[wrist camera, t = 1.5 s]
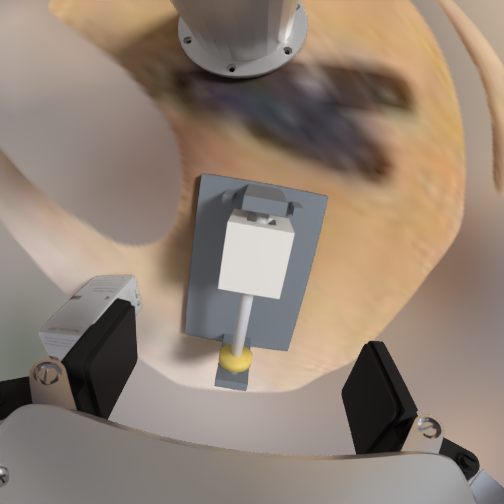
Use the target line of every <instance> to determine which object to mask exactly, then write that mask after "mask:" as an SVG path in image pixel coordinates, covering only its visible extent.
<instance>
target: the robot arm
mask: <svg viewBox="0 0 504 504" xmlns="http://www.w3.org/2000/svg"><path fill="white" fill-rule="evenodd" d="M170 1H171V2H172V4H173V5H174V7H175V8H176V10H177V11H178V13H179V14H180V18H179V22H178V37H179V41H180V44H181V46H182V48H183V49H184V51H185V53H186V54H187V55H188V57H189V58H190V59H191V60H192V61H193V62H194V63H196V64H197V65H198V66H199V67H200V68H202V69H204V70H206V71H208V72H210V73H213V74H216V75H219V76H222V77H229V78H252V77H259V76H262V75H265V74H269V73H272V72H274V71H276V70H278V69H280V68H282V67H283V66H285V65H286V64H287V63H289V62H290V61H291V60H292V59H293V58H294V57H295V56H296V55H297V54H298V53H299V51H300V50H301V48H302V46H303V44H304V42H305V39H306V37H307V32H308V17H307V14H306V11H305V8H304V6H303V5H302V3H301V1H300V0H170ZM296 9H297V10H296ZM189 41H191V43H189V44H188V42H189ZM285 52H289V53H290V54H289V55H287V54H285ZM232 68H233V69H235V71H234V72H230V69H232ZM136 362H137V341H136V321H135V306H133V305H131V302H130V301H128V300H124V299H120V298H116V299H115V300H114V302H113V303H112V304H111V305H110V306H109V307H108V308H107V310H106V311H105V312H104V313H103V314H102V315H101V317H100V318H99V319H98V320H97V321H96V322H95V324H92V325H91V326H89V328H88V329H87V330H86V331H85V332H84V334H83V335H82V336H81V337H80V338H79V339H78V341H77V342H76V343H75V344H74V346H73V347H72V348H71V349H70V350H69V352H68V353H67V354H66V355H65V357H64V358H63V359H62V360H61V362H59V361H57V360H54V359H43V360H40V361H38V362H36V363H35V364H34V365H33V366H32V367H31V369H30V371H29V376H28V377H23V378H18V379H12V380H6V381H1V382H0V504H504V488H503V487H502V486H501V485H500V484H499V483H498V482H497V481H495V480H494V479H493V478H492V477H491V476H490V475H489V474H488V473H487V472H485V471H484V470H483V469H482V470H481V471H479V466H480V465H479V461H478V459H477V457H476V456H475V455H474V454H473V453H472V452H470V451H468V450H466V449H464V448H462V447H461V446H459V445H457V444H455V443H453V442H451V441H450V440H448V439H446V438H444V426H443V425H442V423H441V422H440V421H439V420H438V419H437V418H435V417H434V416H431V415H427V414H424V415H420V416H418V415H417V413H416V412H417V411H418V409H417V407H416V405H415V403H414V401H413V399H412V397H411V395H410V393H409V391H408V389H407V387H406V385H405V383H404V381H403V379H402V377H401V375H400V373H399V371H398V369H397V367H396V365H395V363H394V361H393V359H392V357H391V355H390V354H389V352H388V350H387V348H386V346H385V344H384V343H383V342H380V341H369V342H368V343H367V344H365V345H364V346H363V348H362V350H361V352H360V354H359V357H358V359H357V361H356V363H355V365H354V367H353V369H352V371H351V373H350V375H349V377H348V379H347V381H346V383H345V385H344V387H343V389H342V399H343V403H344V406H345V411H346V415H347V418H348V422H349V427H350V431H351V435H352V439H353V443H354V447H355V451H356V455H333V456H308V455H307V456H306V455H282V454H269V453H256V452H247V451H239V450H232V449H225V448H219V447H212V446H207V445H201V444H196V443H191V442H186V441H182V440H176V439H173V438H169V437H164V436H160V435H156V434H153V433H149V432H146V431H142V430H139V429H135V428H132V427H128V426H125V425H121V424H118V423H115V422H112V421H109V420H108V418H109V416H110V414H111V412H112V410H113V407H114V406H115V404H116V402H117V400H118V398H119V396H120V394H121V392H122V390H123V388H124V386H125V384H126V382H127V380H128V378H129V376H130V375H131V373H132V371H133V369H134V367H135V365H136Z"/></svg>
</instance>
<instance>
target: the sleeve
mask: <svg viewBox="0 0 504 504" xmlns="http://www.w3.org/2000/svg"><path fill="white" fill-rule="evenodd" d="M255 215H256V212H251V211H245V210H239V209H234V210H233V212H232V214H231V216H230V218H229V220H228V223H227V230H226V236H225V243H224V250H223V257H222V263H221V270H220V277H219V285H218V289H222V290H228V291H234V292H239V293H245V294H251V295H257V296H263V297H269V298H275V299H280V295H281V291H282V287H283V282H284V278H285V274H286V270H287V265H288V261H289V257H290V252H291V248H292V244H293V239H294V235H295V233H294V230H293V228H292V225H291V222H290V220H289V218H284V217H278V216H273V215H269V220H268V224H264V223H258V222H254V221H255Z"/></svg>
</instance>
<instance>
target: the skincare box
mask: <svg viewBox="0 0 504 504" xmlns="http://www.w3.org/2000/svg"><path fill="white" fill-rule="evenodd" d="M116 298H120V299H124V300H128V301H130V302H131V305H133V306H135V316H136V315H137V313H138V312H139V311H140V309H141V308H142V303H141V299H140V295H139V291H138V287H137V283H136V279H135V276H132V275H108V276H97V277H94V278H93V279H91V280H90V281H89V282H88V283H87V284H86V285H85V286H84V287H83V288H82V289H80V290H79V291H78V292H77V293H76V294H75V295H74V296H73V297H72V298H71V299H70V300H69V301H68V302H67V303H65V304H64V305H63V306H62V307H61V308H60V309H59V310H58V311H57V312H56V313H55V314H54V315H53V316H52V317H51V318H50V319H49V320H48V321H47V322H46V323H45V324H44V325H43V326H42V327H41V328H40V329H39V330H38V334H39V336H40V339H41V341H42V342H43V345H44V347H45V349H46V351H47V353H48V354H49V357H50V358H51V359H54V360H57V361H59V362H61V360H62V359H63V358H64V357H65V355H66V354H67V353H68V352H69V350H70V349H71V348H72V347H73V346H74V344H75V343H76V342H77V341H78V339H79V338H80V337H81V336H82V335H83V334H84V332H85V331H86V330H87V329H88V328H89V326H91V325H92V324H95V322H96V321H97V320H98V319H99V318H100V317H101V315H102V314H103V313H104V312H105V311H106V310H107V308H108V307H109V306H110V305H111V304H112V303H113V302H114V300H115V299H116Z"/></svg>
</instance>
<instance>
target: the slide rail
mask: <svg viewBox="0 0 504 504" xmlns="http://www.w3.org/2000/svg"><path fill="white" fill-rule="evenodd" d="M327 201H328V196H326V195H322V194H317V193H312V192H308V191H303V190H298V189H293V188H288V187H283V186H277V185H272V184H267V183H261V182H256V181H250V180H244V179H238V178H232V177H225V176H219V175H212V174H205V173H203V174H202V177H201V184H200V191H199V198H198V206H197V214H196V222H195V230H194V239H193V248H192V257H191V267H190V277H189V289H188V300H187V313H186V328H185V334H186V335H191V336H196V337H201V338H206V339H212V340H217V341H222V342H223V344H222V348H221V349H220V355H219V363H218V368H217V373H216V378H215V385H214V386H218V387H224V388H230V389H236V390H242V391H246V389H247V385H248V372H249V367H250V365H251V361H252V356H253V355H252V352H251V351H250V346H252V347H259V348H266V349H273V350H280V351H288V348H289V344H290V341H291V338H292V335H293V331H294V328H295V325H296V321H297V318H298V314H299V311H300V307H301V304H302V300H303V297H304V293H305V290H306V286H307V282H308V278H309V275H310V271H311V267H312V263H313V259H314V256H315V252H316V248H317V244H318V240H319V235H320V231H321V227H322V223H323V219H324V214H325V210H326V206H327ZM234 209H239V210H245V211H251V212H256V215H255V221H254V222H258V223H264V224H268V220H269V215H273V216H278V217H284V218H289V220H290V222H291V225H292V228H293V230H294V233H295V235H294V239H293V244H292V248H291V252H290V257H289V261H288V265H287V270H286V274H285V278H284V282H283V287H282V291H281V295H280V299H275V298H269V297H263V296H257V295H251V294H245V293H239V292H234V291H228V290H222V289H218V285H219V277H220V270H221V263H222V257H223V250H224V243H225V236H226V230H227V223H228V220H229V218H230V216H231V214H232V212H233V210H234Z"/></svg>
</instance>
